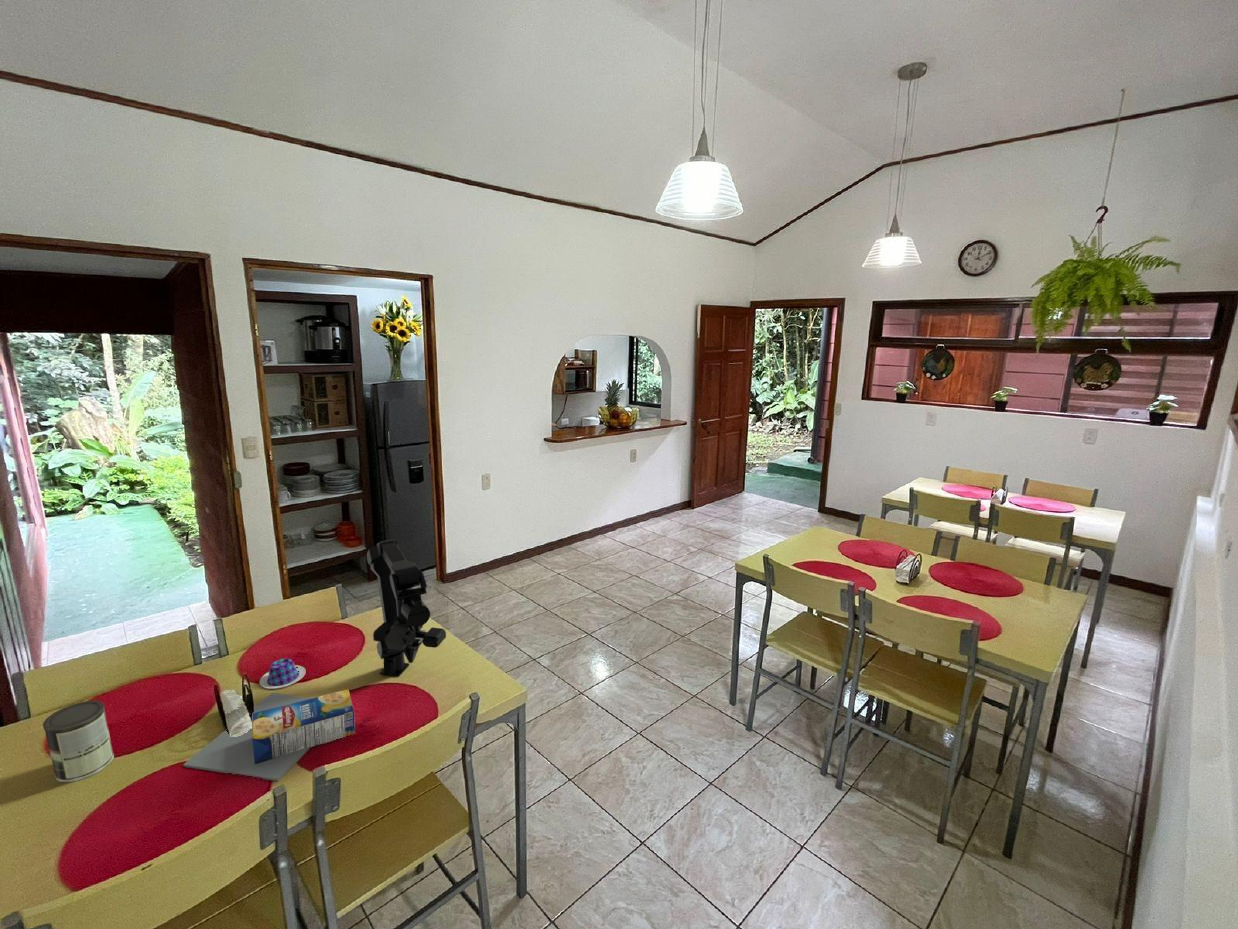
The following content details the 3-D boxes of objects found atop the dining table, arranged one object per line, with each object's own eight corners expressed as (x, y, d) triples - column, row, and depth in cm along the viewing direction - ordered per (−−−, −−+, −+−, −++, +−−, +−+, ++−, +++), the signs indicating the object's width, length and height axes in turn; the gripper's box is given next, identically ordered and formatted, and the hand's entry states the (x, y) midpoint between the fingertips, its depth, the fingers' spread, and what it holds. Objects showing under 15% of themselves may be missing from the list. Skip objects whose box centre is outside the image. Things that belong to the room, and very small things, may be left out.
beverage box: (355, 734, 145) (254, 764, 134) (349, 711, 154) (254, 737, 143) (354, 711, 144) (252, 739, 132) (348, 689, 153) (252, 713, 141)
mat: (271, 694, 160) (271, 693, 160) (351, 705, 157) (351, 703, 157) (183, 766, 133) (183, 764, 133) (278, 781, 130) (277, 779, 130)
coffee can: (41, 784, 127) (29, 730, 124) (80, 751, 137) (69, 700, 134) (90, 782, 128) (79, 728, 125) (125, 749, 138) (115, 699, 135)
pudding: (294, 662, 177) (292, 647, 175) (313, 676, 170) (311, 661, 169) (252, 680, 167) (250, 665, 166) (270, 696, 160) (268, 679, 159)
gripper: (358, 621, 145) (363, 675, 149) (426, 629, 143) (428, 683, 146) (382, 602, 156) (386, 652, 160) (445, 609, 154) (448, 659, 157)
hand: (411, 662), depth 155 cm, fingers closed
